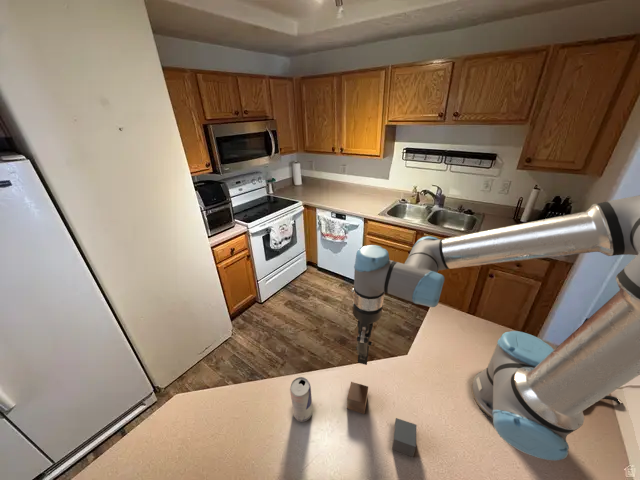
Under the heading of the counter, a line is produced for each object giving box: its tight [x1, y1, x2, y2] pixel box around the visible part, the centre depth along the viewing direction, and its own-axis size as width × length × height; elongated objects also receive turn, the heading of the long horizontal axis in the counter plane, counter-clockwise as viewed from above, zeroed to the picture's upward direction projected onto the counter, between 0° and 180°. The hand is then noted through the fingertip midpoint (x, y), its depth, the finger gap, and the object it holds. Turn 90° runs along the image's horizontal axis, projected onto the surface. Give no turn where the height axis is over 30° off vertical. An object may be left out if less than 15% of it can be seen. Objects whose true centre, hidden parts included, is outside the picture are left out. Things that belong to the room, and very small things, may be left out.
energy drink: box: [289, 376, 314, 423], centre depth 69 cm, size 5×5×12 cm
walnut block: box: [346, 381, 369, 415], centre depth 73 cm, size 5×5×5 cm
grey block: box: [391, 417, 417, 458], centre depth 64 cm, size 5×5×5 cm
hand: (362, 361), depth 77 cm, fingers closed
